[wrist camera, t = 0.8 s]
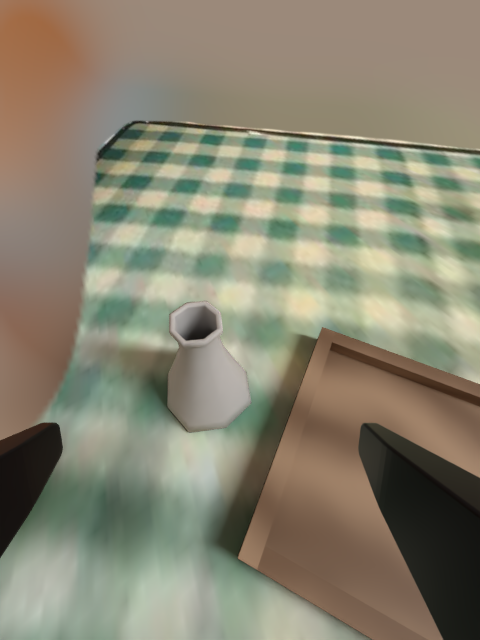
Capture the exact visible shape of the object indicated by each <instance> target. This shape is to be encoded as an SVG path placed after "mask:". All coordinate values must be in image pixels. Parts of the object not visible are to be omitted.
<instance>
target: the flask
mask: <svg viewBox="0 0 480 640" xmlns="http://www.w3.org/2000/svg"><path fill="white" fill-rule="evenodd" d="M169 333H170V335H171V336H172V337H173V338H174V339H175V340H176V341H177V342H178V345H179V349H178V352H177V354H176V357H175V360H174V362H173V364H172V366H171V368H170V371H169V373H168V396H167V407H168V408H169V409H170V411H171V412H172V413H173V414H174V415H175V416H176V418H177V419H178V420H179V421H180V422H181V424H182V425H183V426H184V427H185V428H186V429H187V431H188V432H189V433H191V432H199V431H206V430H214V429H222V428H226V427H227V426H229V425H230V424H231V423H232V422H233V421H234V420H235V419H236V418H237V417H238V416H239V415H240V414H241V413H242V412H243V411H244V410H245V409H246V408H247V407H248V406H249V405H250V404H251V397H250V391H249V384H248V378H247V372H246V371H245V369H244V368H243V367H242V366H241V365H240V364H239V363H238V362H237V361H236V360H235V359H234V358H233V356H232V355H231V354H230V353H229V352H228V350H227V349H226V348H225V347H224V345H223V343H222V341H221V338H220V335H222V333H223V327H222V318H221V312H220V311H218V310H217V309H216V308H215V307H214V306H213V305H211V304H210V303H209V302H208V301H199V302H188V303H185V304H184V305H182V306H181V307H179V308H178V309H176V310H175V311H173V312H172V313H170V314H169Z"/></svg>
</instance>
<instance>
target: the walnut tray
mask: <svg viewBox="0 0 480 640" xmlns="http://www.w3.org/2000/svg"><path fill="white" fill-rule="evenodd" d="M363 423H378V424H380V425H381V426H383V427H385V428H387V429H389V430H391V431H393V432H395V433H396V434H398V435H400V436H402V437H404V438H406V439H408V440H410V441H412V442H413V443H415V444H417V445H419V446H421V447H423V448H425V449H427V450H428V451H430V452H432V453H434V454H436V455H438V456H440V457H442V458H444V459H445V460H447V461H449V462H451V463H453V464H455V465H457V466H459V467H461V468H462V469H464V470H466V471H468V472H470V473H472V474H474V475H476V476H477V477H479V478H480V384H477V383H475V382H472V381H469V380H466V379H464V378H461V377H458V376H455V375H453V374H450V373H447V372H444V371H442V370H439V369H436V368H433V367H431V366H428V365H425V364H422V363H420V362H417V361H414V360H411V359H409V358H406V357H403V356H400V355H398V354H395V353H392V352H389V351H387V350H384V349H381V348H378V347H376V346H373V345H370V344H367V343H365V342H362V341H359V340H356V339H354V338H351V337H348V336H345V335H343V334H340V333H337V332H334V331H332V330H329V329H326V328H323V327H322V330H321V332H320V334H319V337H318V339H317V342H316V345H315V347H314V350H313V353H312V356H311V358H310V361H309V364H308V366H307V369H306V372H305V375H304V377H303V380H302V383H301V385H300V388H299V391H298V394H297V396H296V399H295V402H294V405H293V407H292V410H291V413H290V415H289V418H288V421H287V424H286V426H285V429H284V432H283V434H282V437H281V440H280V443H279V445H278V448H277V451H276V453H275V456H274V459H273V462H272V464H271V467H270V470H269V472H268V475H267V478H266V481H265V483H264V486H263V489H262V492H261V494H260V497H259V500H258V502H257V505H256V508H255V511H254V513H253V516H252V519H251V521H250V524H249V527H248V530H247V532H246V535H245V538H244V540H243V543H242V546H241V549H240V551H239V554H238V559H240V560H241V561H243V562H245V563H246V564H248V565H250V566H251V567H253V568H255V569H256V570H258V571H260V572H261V573H263V574H265V575H266V576H268V577H270V578H271V579H273V580H275V581H276V582H278V583H280V584H281V585H283V586H284V587H286V588H288V589H289V590H291V591H293V592H294V593H296V594H298V595H299V596H301V597H303V598H304V599H306V600H308V601H309V602H311V603H313V604H314V605H316V606H318V607H319V608H321V609H323V610H324V611H326V612H328V613H329V614H331V615H333V616H334V617H336V618H338V619H339V620H341V621H343V622H344V623H346V624H348V625H349V626H351V627H353V628H354V629H356V630H358V631H359V632H361V633H363V634H364V635H366V636H368V637H369V638H371V639H373V640H443V638H442V636H441V634H440V632H439V630H438V628H437V626H436V624H435V622H434V620H433V618H432V616H431V614H430V612H429V610H428V608H427V606H426V603H425V601H424V599H423V597H422V595H421V593H420V591H419V589H418V587H417V585H416V583H415V581H414V579H413V577H412V575H411V573H410V571H409V569H408V567H407V564H406V562H405V560H404V558H403V556H402V554H401V552H400V550H399V548H398V546H397V544H396V542H395V540H394V538H393V536H392V534H391V532H390V530H389V527H388V525H387V523H386V521H385V519H384V517H383V515H382V513H381V511H380V509H379V506H378V504H377V502H376V499H375V496H374V494H373V491H372V488H371V486H370V483H369V480H368V477H367V475H366V472H365V469H364V467H363V464H362V461H361V458H360V456H359V451H358V445H359V436H360V428H361V425H362V424H363Z"/></svg>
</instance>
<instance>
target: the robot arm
mask: <svg viewBox="0 0 480 640" xmlns="http://www.w3.org/2000/svg"><path fill="white" fill-rule="evenodd" d="M62 450H63V445H62V439H61V433H60V427H59V425H58V424H57V423H40V424H38V425H36V426H33V427H31V428H29V429H26V430H24V431H22V432H19V433H17V434H14V435H12V436H10V437H7V438H5V439H3V440H0V558H1V556H2V555H3V553H4V552H5V550H6V549H7V547H8V546H9V544H10V542H11V541H12V539H13V538H14V536H15V535H16V533H17V532H18V530H19V529H20V527H21V526H22V524H23V523H24V521H25V519H26V518H27V516H28V515H29V513H30V512H31V510H32V508H33V507H34V505H35V503H36V501H37V500H38V498H39V496H40V494H41V492H42V490H43V489H44V487H45V485H46V483H47V481H48V479H49V477H50V475H51V474H52V472H53V470H54V468H55V466H56V464H57V462H58V460H59V459H60V457H61V454H62ZM358 451H359V456H360V458H361V461H362V464H363V467H364V469H365V472H366V475H367V477H368V480H369V483H370V486H371V488H372V491H373V494H374V496H375V499H376V502H377V504H378V506H379V509H380V511H381V513H382V515H383V517H384V519H385V521H386V523H387V525H388V527H389V530H390V532H391V534H392V536H393V538H394V540H395V542H396V544H397V546H398V548H399V550H400V552H401V554H402V556H403V558H404V560H405V562H406V564H407V567H408V569H409V571H410V573H411V575H412V577H413V579H414V581H415V583H416V585H417V587H418V589H419V591H420V593H421V595H422V597H423V599H424V601H425V603H426V606H427V608H428V610H429V612H430V614H431V616H432V618H433V620H434V622H435V624H436V626H437V628H438V630H439V632H440V634H441V636H442V638H443V640H480V478H479V477H477V476H476V475H474V474H472V473H470V472H468V471H466V470H464V469H462V468H461V467H459V466H457V465H455V464H453V463H451V462H449V461H447V460H445V459H444V458H442V457H440V456H438V455H436V454H434V453H432V452H430V451H428V450H427V449H425V448H423V447H421V446H419V445H417V444H415V443H413V442H412V441H410V440H408V439H406V438H404V437H402V436H400V435H398V434H396V433H395V432H393V431H391V430H389V429H387V428H385V427H383V426H381V425H380V424H378V423H363V424H362V425H361V428H360V436H359V445H358Z"/></svg>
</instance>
